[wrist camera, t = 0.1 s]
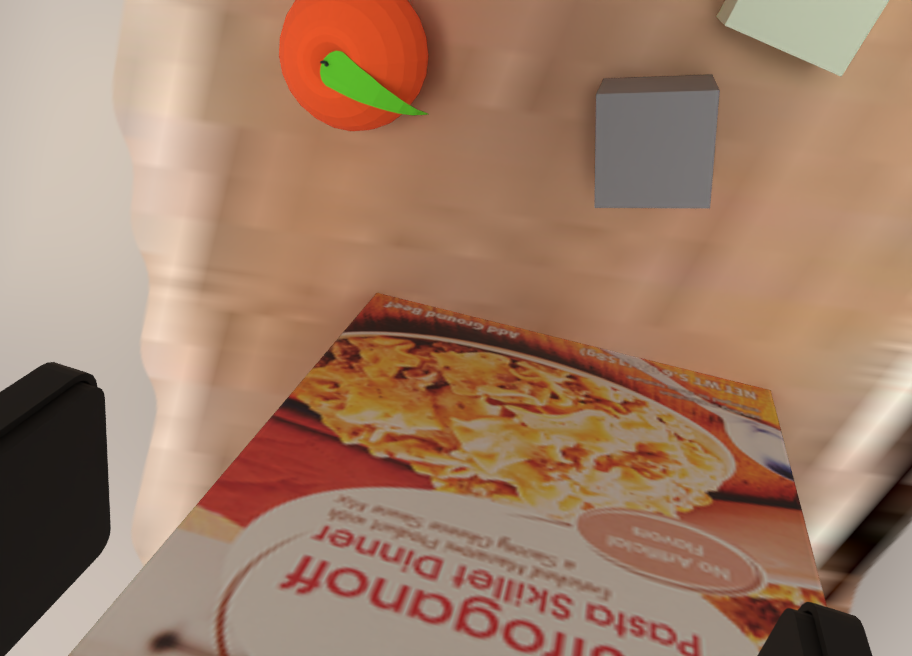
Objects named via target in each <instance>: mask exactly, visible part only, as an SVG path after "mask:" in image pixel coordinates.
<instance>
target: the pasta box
mask: <svg viewBox="0 0 912 656" xmlns="http://www.w3.org/2000/svg"><path fill="white" fill-rule="evenodd" d="M805 602H812V603H816V604H819V605H822V606H825V607H827V605H826V602H825V598H824V594H823V590H822V586H821V582H820V578H819V575H818V571H817V567H816V563H815V559H814V555H813V552H812V548H811V544H810V540H809V536H808V532H807V528H806V525H805V521H804V517H803V513H802V509H801V505H800V502H799V498H798V494H797V490H796V486H795V482H794V478H793V475H792V471H791V467H790V463H789V459H788V455H787V452H786V448H785V444H784V440H783V436H782V432H781V428H780V425H779V421H778V417H777V413H776V409H775V405H774V402H773V398H772V394H771V390H767V389H763V388H759V387H755V386H751V385H747V384H743V383H739V382H735V381H731V380H727V379H722V378H718V377H714V376H710V375H706V374H702V373H698V372H694V371H690V370H686V369H682V368H678V367H674V366H670V365H666V364H662V363H658V362H654V361H650V360H646V359H642V358H638V357H634V356H630V355H626V354H622V353H618V352H613V351H609V350H605V349H601V348H597V347H593V346H589V345H585V344H581V343H577V342H573V341H569V340H565V339H561V338H557V337H553V336H549V335H545V334H541V333H537V332H533V331H529V330H525V329H521V328H517V327H513V326H509V325H505V324H500V323H496V322H492V321H488V320H484V319H480V318H476V317H472V316H468V315H464V314H460V313H456V312H452V311H448V310H444V309H440V308H436V307H432V306H428V305H424V304H420V303H416V302H412V301H408V300H404V299H400V298H396V297H392V296H387V295H383V294H379V293H376V295H375V296H374V297H373V298H372V299H371V300H370V302H369V303H368V304H367V305H366V306H365V307H364V309H363V310H362V311H361V312H360V313H359V315H358V316H357V317H356V318H355V319H354V320H353V322H352V323H351V324H350V325H349V326H348V327H347V329H346V330H345V331H344V332H343V333H342V335H341V336H340V337H339V338H338V339H337V340H336V342H335V343H334V344H333V345H332V346H331V347H330V349H329V350H328V351H327V352H326V353H325V354H324V356H323V357H322V358H321V359H320V360H319V362H318V363H317V364H316V365H315V366H314V367H313V369H312V370H311V371H310V372H309V373H308V374H307V376H306V377H305V378H304V379H303V380H302V382H301V383H300V384H299V385H298V386H297V387H296V389H295V390H294V391H293V392H292V393H291V394H290V396H289V397H288V398H287V399H286V400H285V401H284V403H283V404H282V405H281V406H280V407H279V409H278V410H277V411H276V412H275V413H274V414H273V416H272V417H271V418H270V419H269V420H268V421H267V423H266V424H265V425H264V426H263V427H262V429H261V430H260V431H259V432H258V433H257V434H256V436H255V437H254V438H253V439H252V440H251V441H250V443H249V444H248V445H247V446H246V447H245V448H244V450H243V451H242V452H241V453H240V454H239V456H238V457H237V458H236V459H235V460H234V461H233V463H232V464H231V465H230V466H229V467H228V468H227V470H226V471H225V472H224V473H223V474H222V476H221V477H220V478H219V479H218V480H217V481H216V483H215V484H214V485H213V486H212V487H211V488H210V490H209V491H208V492H207V493H206V494H205V495H204V497H203V498H202V499H201V500H200V501H199V503H198V504H197V505H196V506H195V507H194V508H193V510H192V511H191V512H190V513H189V514H188V515H187V517H186V518H185V519H184V520H183V521H182V523H181V524H180V525H179V526H178V527H177V528H176V530H175V531H174V532H173V533H172V534H171V535H170V537H169V538H168V539H167V540H166V541H165V542H164V544H163V545H162V546H161V547H160V548H159V550H158V551H157V552H156V553H155V554H154V555H153V557H152V558H151V559H150V560H149V561H148V562H147V564H146V565H145V566H144V567H143V568H142V570H141V571H140V572H139V573H138V574H137V575H136V577H135V578H134V579H133V580H132V581H131V582H130V584H129V585H128V586H127V587H126V588H125V589H124V591H123V592H122V593H121V594H120V595H119V597H118V598H117V599H116V600H115V601H114V602H113V604H112V605H111V606H110V607H109V608H108V609H107V611H106V612H105V613H104V614H103V616H102V617H101V618H100V619H99V620H98V621H97V622H96V624H95V625H94V626H93V627H92V628H91V629H90V631H89V632H88V633H87V634H86V635H85V636H84V638H83V639H82V640H81V641H80V642H79V644H78V645H77V646H76V647H75V648H74V649H73V651H72V652H71V653H70V654H69V655H68V656H757V655H758V654H759V652H760V650H761V649H762V647H763V645H764V643H765V642H766V640H767V638H768V636H769V635H770V633H771V631H772V630H773V628H774V626H775V624H776V623H777V621H778V619H779V617H780V616H781V614H782V613H783V611H784V610H785V609H787V608H792V609H795V610H798V609H799V608H800V607H801V605H802V604H804V603H805Z"/></svg>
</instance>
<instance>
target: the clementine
mask: <svg viewBox="0 0 912 656" xmlns="http://www.w3.org/2000/svg"><path fill="white" fill-rule="evenodd" d="M279 58H280V63H281V68H282V73H283V76H284V78H285V80H286V83H287V85H288V87H289V90H290V91H291V93H292V94H293V96H294V97H295V98H296V100H297V101H298V102H299V104H300V105H301V106H302V107H303V108H304V109H306V110H307V111H308V112H309V113H310V114H311V115H313V116H314V117H315V118H316V119H318V120H320V121H322V122H324V123H326V124H328V125H330V126H332V127H334V128H338V129H343V130H348V131H360V130H371V129H375V128H378V127H381V126H383V125H386V124H389V123H391V122H393V121H394V120H395V119H396V118H398V117H399V116H400V115H402V114H406V115H427V114H428V113H425V112H423V111H420V110H417V109H415V108H414V107H412V106H410V105H411V103H412V102H413V101H414V99H415V98H416V97H417V95H418V94H419V92H420V90H421V87H422V85H423V82H424V80H425V77H426V72H427V64H428V49H427V40H426V35H425V32H424V30H423V27H422V24H421V21H420V19H419V17H418V15H417V14H416V12H415V11H414V9H413V8H412V6H411V5H410V3H409V2H408V1H407V0H295V2H294V3H293V5H292V7H291V8H290V10H289V12H288V13H287V15H286V18H285V22H284V25H283V29H282V32H281V36H280V48H279Z"/></svg>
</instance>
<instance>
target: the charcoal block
mask: <svg viewBox="0 0 912 656" xmlns="http://www.w3.org/2000/svg"><path fill="white" fill-rule="evenodd" d="M719 91H720V90H719V88H718V86H717V84H716V82H715V79H714V77H713V75H686V76H659V77H631V78H604V79H603V81H602V83H601V85H600V87H599V89H598V91H597V94H596V143H595V208H710V202H711V189H712V177H713V165H714V153H715V140H716V128H717V116H718V104H719Z"/></svg>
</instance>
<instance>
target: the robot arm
mask: <svg viewBox="0 0 912 656" xmlns="http://www.w3.org/2000/svg"><path fill="white" fill-rule="evenodd" d="M108 483H109V482H108V461H107V437H106V415H105V397H104V392H103V391H102V389H100V388H98V387H97V383H96V379H95V378H94V376H93V375H91V374H89V373H86V372H83V371H80V370H77V369H74V368H71V367H67V366H64V365H61V364H58V363H55V362H51V363H46V364H43V365H41V366H40V367H38V368H36V369H35V370H33V371H32V372H30V373H29V374H27V375H26V376H24V377H23V378H21V379H20V380H18V381H17V382H15V383H14V384H12V385H10V386H9V387H7V388H6V389H5V390H3V391H1V392H0V656H5V655H6V654H7V653H8V652H9V651H10V650H11V648H12V647H13V646H14V645H15V644H16V643H17V642H18V641H19V640H20V639H21V638H22V637H23V636H24V635H25V634H26V633H27V631H28V630H29V629H30V628H31V627H32V626H33V625H34V624H35V623H36V622H37V621H38V620H39V619H40V618H41V617H42V616H43V615H44V613H45V612H46V611H47V610H48V609H49V608H50V607H51V606H52V605H53V604H54V603H55V602H56V601H57V600H58V599H59V598H60V597H61V595H62V594H63V593H64V592H65V591H66V590H67V589H68V588H69V587H70V586H71V585H72V584H73V583H74V582H75V581H76V579H77V578H78V577H79V576H80V575H81V574H82V573H83V572H84V571H85V570H86V569H87V568H88V567H89V566H90V564H92V563H93V562H94V560H95V559H96V558H97V557H98V556H99V555H100V554H101V552H102V551H103V549H104V548H105V546H106V544H107V541H108V539H109V535H110V505H109V484H108ZM757 656H872V653H871V650H870V647H869V643H868V640H867V637H866V634H865V630H864V627H863V625H862V623H861V621H860V620H859V619H858V618H857V617H856V616H853V615H850V614H847V613H844V612H841V611H838V610H835V609H831V608H828V607H825V606H822V605H819V604H816V603H812V602H805V603H804V604H802V605H801V607H800V608H799V609H798V610H795V609H792V608H787V609H785V610H784V611H783V613H782V614H781V616H780V617H779V619H778V621H777V623H776V624H775V626H774V628H773V630H772V631H771V633H770V635H769V636H768V638H767V640H766V642H765V643H764V645H763V647H762V649H761V650H760V652H759V654H758V655H757Z"/></svg>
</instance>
